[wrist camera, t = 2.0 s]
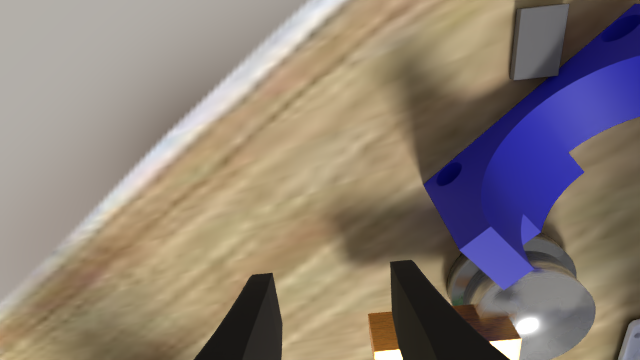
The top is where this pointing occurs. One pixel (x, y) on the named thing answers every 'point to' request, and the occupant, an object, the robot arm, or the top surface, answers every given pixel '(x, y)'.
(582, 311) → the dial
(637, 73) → the cable clip
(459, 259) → the dial housing
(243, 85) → the top surface
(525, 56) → the grey block
